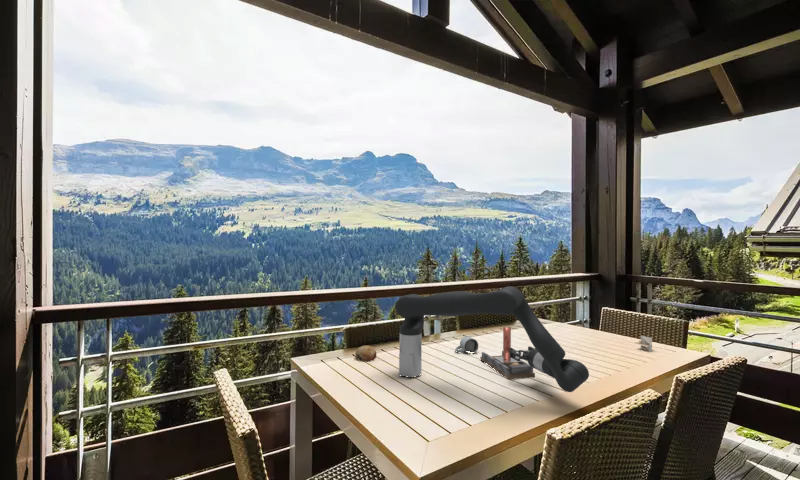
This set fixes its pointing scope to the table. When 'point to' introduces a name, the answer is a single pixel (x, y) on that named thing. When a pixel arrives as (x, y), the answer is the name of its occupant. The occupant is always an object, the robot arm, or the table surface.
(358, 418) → the table surface
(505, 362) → the slider
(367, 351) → the bread roll
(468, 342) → the ceramic mug
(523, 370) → the press base
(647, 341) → the architectural model
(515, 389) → the table surface
